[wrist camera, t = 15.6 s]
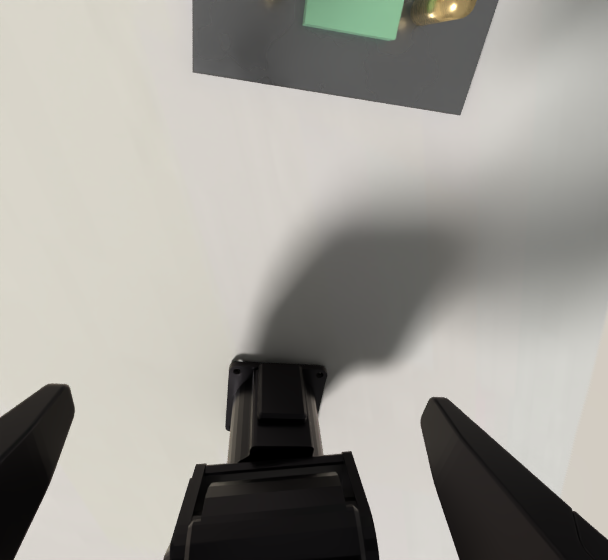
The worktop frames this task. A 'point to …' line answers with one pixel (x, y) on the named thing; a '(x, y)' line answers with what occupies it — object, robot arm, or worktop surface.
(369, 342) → the worktop surface
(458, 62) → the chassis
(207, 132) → the worktop surface
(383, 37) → the beige and green block
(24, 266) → the worktop surface
